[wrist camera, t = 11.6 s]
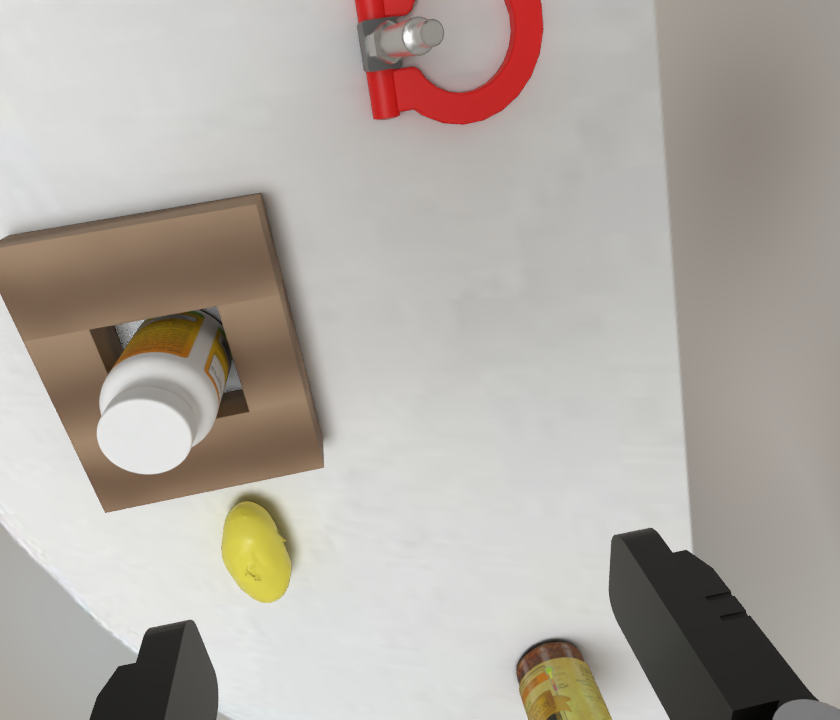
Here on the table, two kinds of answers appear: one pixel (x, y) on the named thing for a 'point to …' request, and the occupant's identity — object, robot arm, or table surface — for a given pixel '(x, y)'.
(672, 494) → the table surface
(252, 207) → the socket plate
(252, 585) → the yellow potato
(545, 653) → the sauce bottle
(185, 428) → the supplement bottle
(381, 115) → the tow hook
